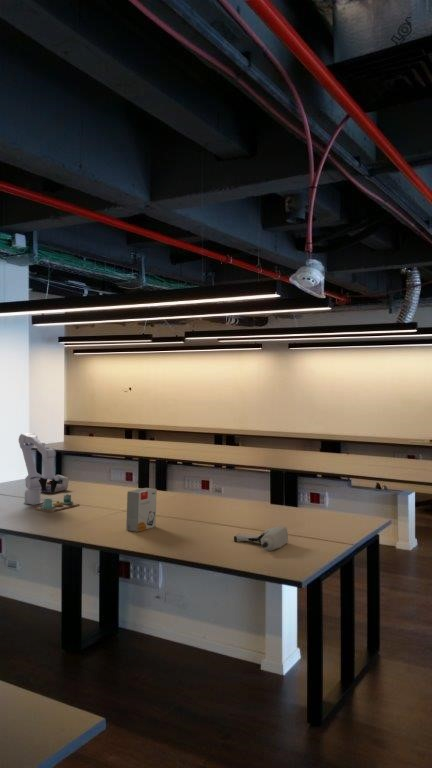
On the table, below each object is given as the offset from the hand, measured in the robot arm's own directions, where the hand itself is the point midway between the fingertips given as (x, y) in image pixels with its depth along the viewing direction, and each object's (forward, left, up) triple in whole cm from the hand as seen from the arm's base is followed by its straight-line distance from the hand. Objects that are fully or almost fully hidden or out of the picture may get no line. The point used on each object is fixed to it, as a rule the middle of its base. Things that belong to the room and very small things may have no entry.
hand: (48, 491), depth 347 cm
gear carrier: (+6, +2, -9) cm, 11 cm away
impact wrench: (+143, -7, -10) cm, 144 cm away
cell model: (-35, +38, -10) cm, 53 cm away
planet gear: (+6, -6, -8) cm, 12 cm away
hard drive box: (+79, -11, -10) cm, 80 cm away
